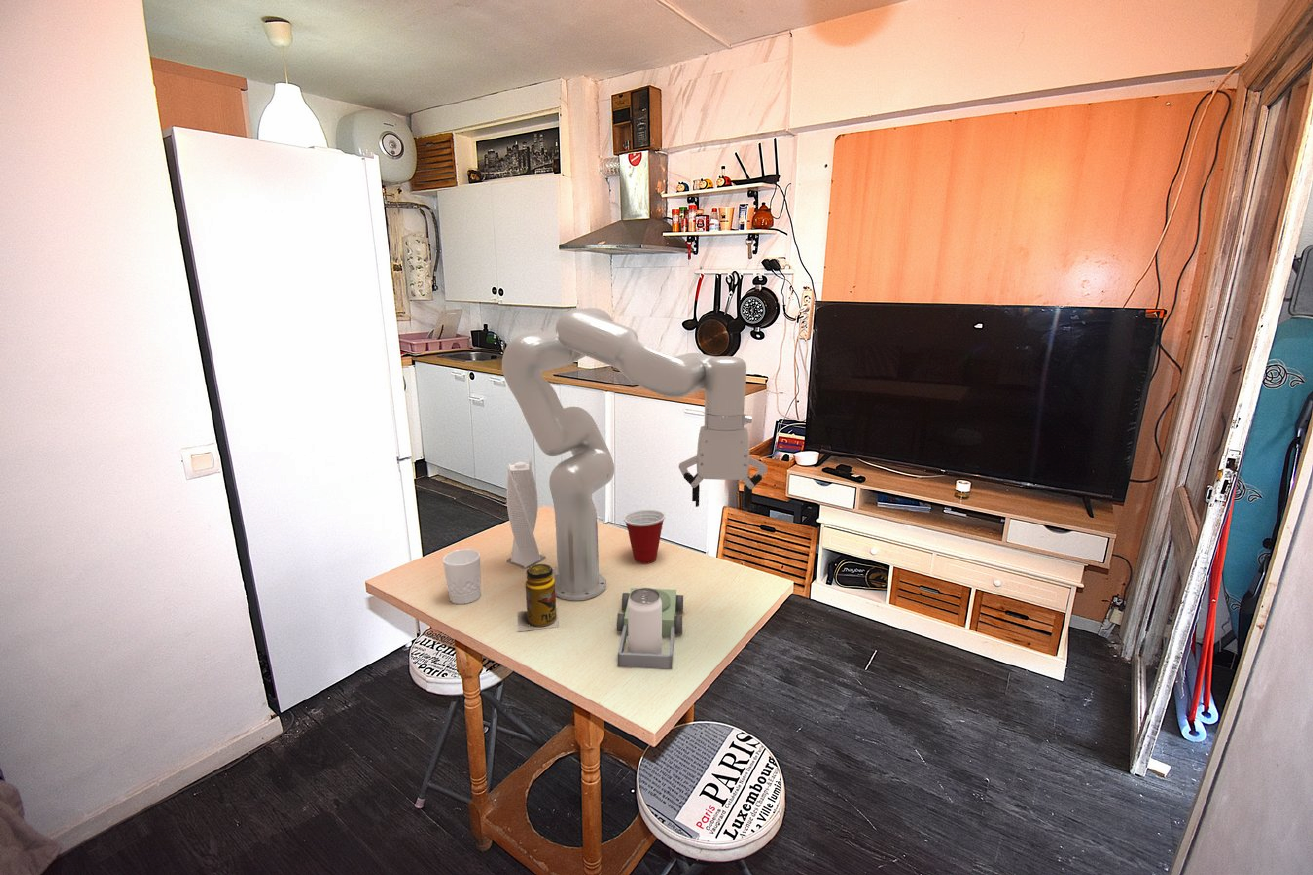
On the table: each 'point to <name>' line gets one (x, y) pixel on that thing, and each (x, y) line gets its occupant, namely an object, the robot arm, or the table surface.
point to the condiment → (539, 600)
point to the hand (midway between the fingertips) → (721, 505)
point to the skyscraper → (522, 514)
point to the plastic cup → (644, 533)
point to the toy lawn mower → (669, 628)
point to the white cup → (463, 575)
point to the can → (645, 621)
